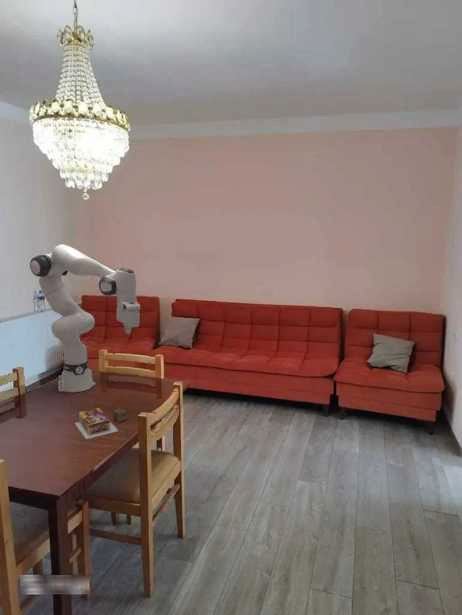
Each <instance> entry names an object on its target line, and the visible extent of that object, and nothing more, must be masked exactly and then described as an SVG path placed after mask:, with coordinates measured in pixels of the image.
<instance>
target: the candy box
mask: <svg viewBox="0 0 462 615" xmlns="http://www.w3.org/2000/svg"><path fill="white" fill-rule="evenodd" d="M78 422H81V423H82V425H83V426H84V428H85V429H86V430H87V432H88V433H89V434H91V433H95V432H99V431H103V430H107V429H110V422H111V420H110V419H109V417H108V416H107V415H106V414H105V413H104V412H103V410H102V409H101V408H99V407H97V408H92V409H91V408H90V409H88V410H83V411H78Z"/></svg>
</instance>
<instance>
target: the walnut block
mask: <svg viewBox="0 0 462 615" xmlns="http://www.w3.org/2000/svg"><path fill="white" fill-rule="evenodd" d="M112 420H113V421H114V422H115V421H116V422H117V423H121V422H123V421H125V420H127V410H125V409H122V408H119V409H116V410H113V411H112Z"/></svg>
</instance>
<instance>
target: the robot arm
mask: <svg viewBox="0 0 462 615" xmlns="http://www.w3.org/2000/svg"><path fill="white" fill-rule="evenodd" d="M29 268H30V271H31V272H32V274H33V275H34V276H35V277H39V279H38V283H39V286H40V290H41V292H42V294H43V296H44V297H45V299H46V301H47V303H48V304H49V307H50V308H51V311H53V312H54V313H57V314H58V315H60V316H62V317H60V318H58V319H56V320H54V321H53V322H52V324H51V332H52V335H53V336H54V338H57V339H58V340H59V341H60V344H61V345H62V349H63V357H64V362H63V371H62V372H61V375H58V381H57V387H58V388H57V389H58V390H57V391H58V392H66V393H79V392H83V391H84V392H85V391H87V390H89V389H91V388H92V387H94V386H96V385H97V384H96V382H95V381H93V373H92V370H91V369H90V368H89V361H88V350H87V349H88V348H87V346H86V344H84V342H82V341H81V339H80V335H84V334H85V333H88V332H90V331H91V330H92V329H93V328H94V326H95V324H96V323H95V318H94V316H93V315H92V314H91V313H89V312H87V311H85V310H84V309H82V308H81V307H80V306H79V305H78V304H77V303H76V302H75V300H74V299H73V297H72V296H71V295H70V293H69V291H68V289H67V288H66V285H65V284H64V282H63V281H62V276H67V274H68V273H70V274H73V275H76V276H81V277H82V276H83V277H86V276H89V277H90V276H94V277H99V278H100V280H99V282H98V288H99V291H100V293H101V294H103V296H106V297H113V296H116V306H117V307H116V320H117V321H118V322H120V323H122V324H123V327H124V333H126V334H127V335H129V334H131V332H132V328H138V327H140V319H141V317H140V316H141V315H140V314H141V313H140V310H141V304H140V303H139V302H138V300H137V298H138V297H137V294H136V292H137V291H136V290H137V279H136V274H135V271H134V270H133V269H130V268H118V269H117V270H115V269H114V268H112V267H110V266H107V265H106V264H104V263H103V262H99V261H97V260H95V259H93V258H91V257H89V256H88V255H86V254H84V253H83V252H81V251H79V250H78V249H76V248H74V247H72V246H69V245H67V244H64V243H63V244H58V245H56V246H55V247H54V248H53V250H52V252H49V253H45V254H39V255H36V256H35V257H33V258H32V259H31V260H30V262H29Z"/></svg>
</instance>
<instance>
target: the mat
mask: <svg viewBox="0 0 462 615" xmlns="http://www.w3.org/2000/svg"><path fill="white" fill-rule="evenodd" d="M74 425H75V426H76V428H77V429H78V430H79V432H80V433H81V435H82V436H83V438H84V439H85V440H91V439H95V438H98V437H103V436H106V435H111V434H115V433H118V432H119V430H118V428H117V427H116V426H115V425H114V424H113V423H112V422H111V421H110V429H107V430H103V431H99V432H95V433H91V434H89V433H88V432H87V430H86V429H85V428H84V426H83V425H82V423H81V422H80V421H78V422H75V423H74Z"/></svg>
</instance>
